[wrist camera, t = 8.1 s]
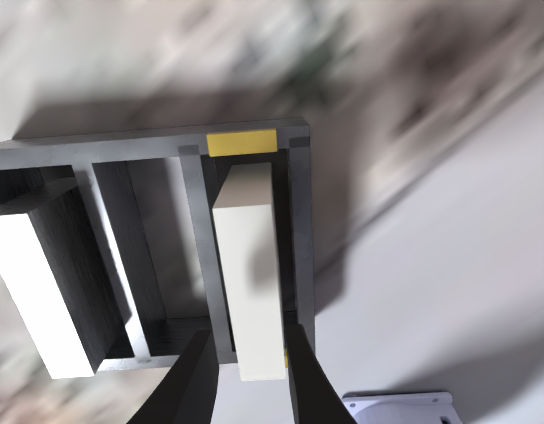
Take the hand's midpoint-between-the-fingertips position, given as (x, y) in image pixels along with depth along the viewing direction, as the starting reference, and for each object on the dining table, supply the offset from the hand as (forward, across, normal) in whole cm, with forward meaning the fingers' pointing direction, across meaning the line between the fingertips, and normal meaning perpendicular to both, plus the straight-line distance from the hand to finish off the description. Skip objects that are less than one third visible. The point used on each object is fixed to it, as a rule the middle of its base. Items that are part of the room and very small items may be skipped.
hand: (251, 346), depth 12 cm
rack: (+9, +5, 0) cm, 11 cm away
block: (+10, 0, 0) cm, 10 cm away
